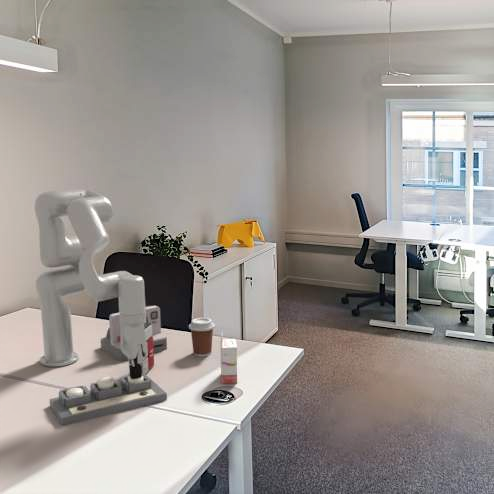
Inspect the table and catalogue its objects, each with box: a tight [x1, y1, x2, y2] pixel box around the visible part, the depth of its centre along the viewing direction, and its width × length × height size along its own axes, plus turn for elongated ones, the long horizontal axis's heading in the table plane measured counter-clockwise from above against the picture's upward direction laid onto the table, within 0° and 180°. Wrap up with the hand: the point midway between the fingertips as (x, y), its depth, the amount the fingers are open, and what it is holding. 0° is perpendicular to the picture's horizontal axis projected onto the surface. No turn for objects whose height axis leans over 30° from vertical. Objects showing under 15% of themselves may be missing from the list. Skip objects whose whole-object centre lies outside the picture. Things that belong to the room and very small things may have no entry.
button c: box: [128, 376, 143, 384], centre depth 176 cm, size 5×5×2 cm
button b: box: [96, 376, 115, 391], centre depth 172 cm, size 5×5×2 cm
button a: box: [66, 387, 83, 398], centre depth 167 cm, size 5×5×2 cm
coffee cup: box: [188, 317, 216, 357], centre depth 209 cm, size 9×9×12 cm
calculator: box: [141, 323, 155, 375], centre depth 192 cm, size 11×4×15 cm, turn 168°
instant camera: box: [100, 305, 168, 361], centre depth 215 cm, size 21×21×15 cm
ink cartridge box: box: [220, 330, 238, 385], centre depth 186 cm, size 9×5×15 cm, turn 5°
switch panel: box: [49, 373, 168, 426], centre depth 170 cm, size 14×30×4 cm, turn 121°
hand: (135, 377), depth 176 cm, fingers closed
